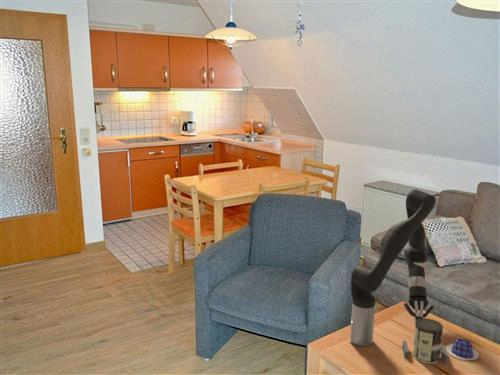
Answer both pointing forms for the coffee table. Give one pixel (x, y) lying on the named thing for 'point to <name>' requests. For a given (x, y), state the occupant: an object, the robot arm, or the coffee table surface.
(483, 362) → the coffee table surface
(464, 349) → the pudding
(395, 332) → the coffee table surface
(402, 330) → the coffee table surface
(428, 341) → the coffee can
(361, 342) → the robot arm
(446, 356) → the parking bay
